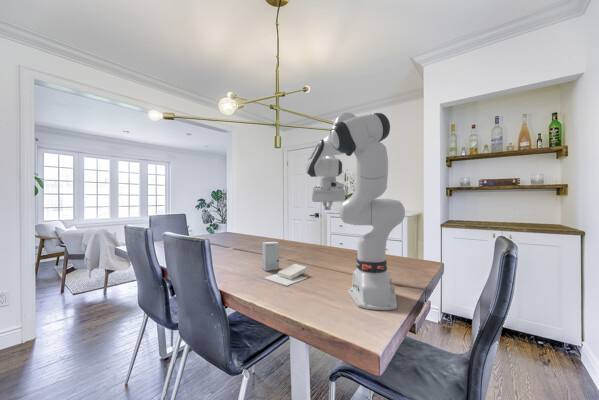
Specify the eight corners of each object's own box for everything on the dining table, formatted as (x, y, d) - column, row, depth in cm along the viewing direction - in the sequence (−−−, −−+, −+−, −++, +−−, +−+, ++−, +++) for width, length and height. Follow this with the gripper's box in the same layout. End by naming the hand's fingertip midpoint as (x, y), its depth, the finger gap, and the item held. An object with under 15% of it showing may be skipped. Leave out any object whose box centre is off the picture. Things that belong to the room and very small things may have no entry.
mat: (284, 272, 133) (284, 271, 133) (306, 278, 122) (306, 277, 122) (263, 278, 122) (263, 277, 122) (286, 286, 112) (286, 285, 112)
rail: (287, 271, 133) (287, 268, 133) (307, 277, 124) (307, 274, 124) (285, 272, 132) (285, 269, 132) (305, 277, 123) (305, 274, 123)
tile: (294, 263, 133) (277, 272, 125) (306, 266, 127) (290, 275, 119) (294, 267, 134) (278, 275, 125) (307, 270, 127) (290, 280, 119)
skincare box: (265, 271, 134) (265, 243, 134) (261, 268, 140) (261, 242, 139) (279, 269, 138) (279, 242, 138) (275, 266, 143) (275, 240, 143)
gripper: (309, 185, 142) (309, 209, 141) (340, 183, 128) (339, 210, 127) (316, 186, 146) (316, 210, 145) (346, 184, 132) (346, 210, 132)
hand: (327, 210), depth 136 cm, fingers closed
